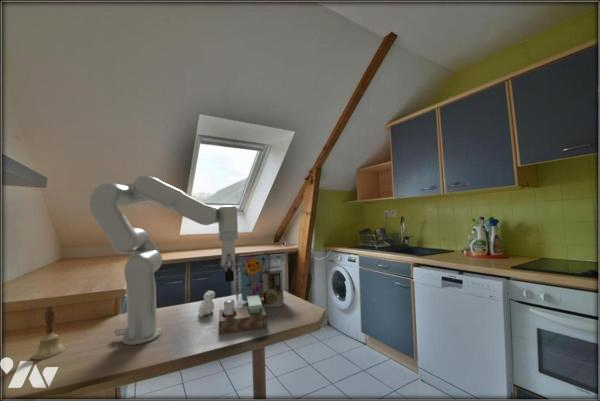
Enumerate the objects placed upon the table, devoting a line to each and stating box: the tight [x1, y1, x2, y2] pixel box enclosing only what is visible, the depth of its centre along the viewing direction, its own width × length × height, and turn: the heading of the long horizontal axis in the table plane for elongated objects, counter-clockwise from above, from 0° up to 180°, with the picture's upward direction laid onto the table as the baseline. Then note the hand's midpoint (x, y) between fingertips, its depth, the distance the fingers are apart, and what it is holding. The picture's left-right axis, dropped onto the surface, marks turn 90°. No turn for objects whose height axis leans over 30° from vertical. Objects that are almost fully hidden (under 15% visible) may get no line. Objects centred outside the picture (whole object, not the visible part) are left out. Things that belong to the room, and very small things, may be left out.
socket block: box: [218, 304, 267, 335], centre depth 108 cm, size 18×12×5 cm, turn 105°
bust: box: [198, 290, 216, 318], centre depth 121 cm, size 12×8×11 cm
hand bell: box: [31, 305, 66, 361], centre depth 91 cm, size 8×8×16 cm
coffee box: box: [262, 269, 285, 308], centre depth 130 cm, size 9×6×16 cm
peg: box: [223, 299, 235, 317], centre depth 107 cm, size 4×4×10 cm
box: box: [219, 251, 272, 305], centre depth 133 cm, size 25×6×24 cm, turn 115°
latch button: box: [246, 295, 263, 314], centre depth 109 cm, size 5×12×6 cm, turn 15°
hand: (229, 278), depth 107 cm, fingers open, 9 cm apart
